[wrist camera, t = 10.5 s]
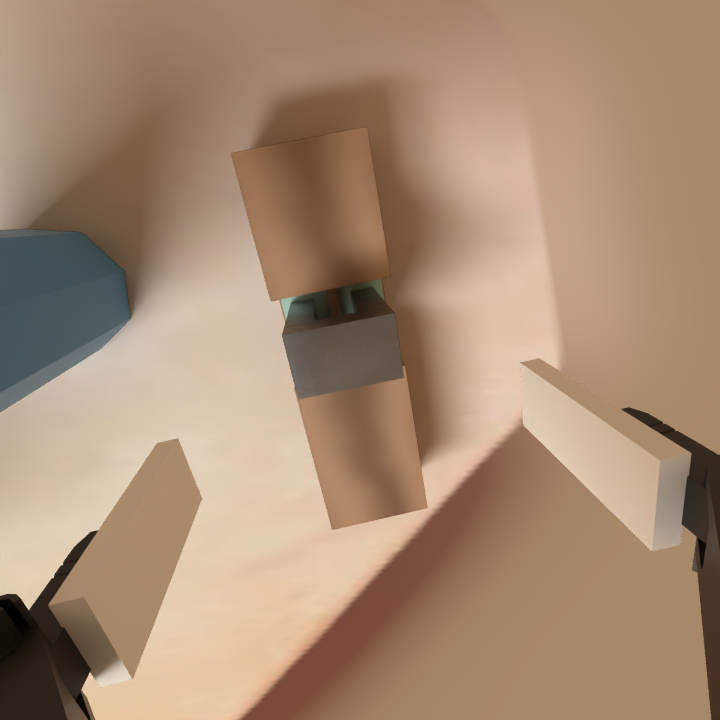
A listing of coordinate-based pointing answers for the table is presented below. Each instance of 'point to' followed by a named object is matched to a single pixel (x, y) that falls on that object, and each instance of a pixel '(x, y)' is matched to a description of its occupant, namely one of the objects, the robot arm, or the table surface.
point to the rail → (335, 311)
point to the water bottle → (53, 306)
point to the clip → (342, 345)
